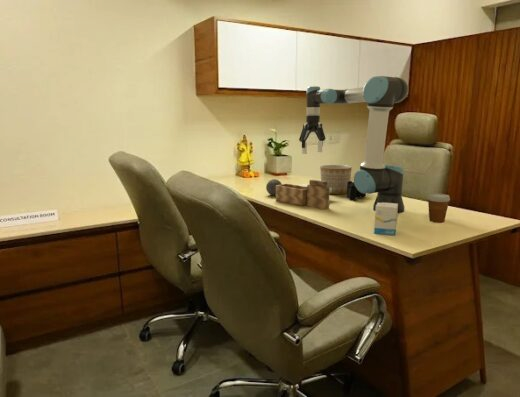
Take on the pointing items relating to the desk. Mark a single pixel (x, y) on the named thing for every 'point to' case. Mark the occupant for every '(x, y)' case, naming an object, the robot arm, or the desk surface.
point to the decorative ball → (272, 186)
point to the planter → (336, 177)
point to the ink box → (385, 218)
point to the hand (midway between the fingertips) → (312, 153)
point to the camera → (353, 191)
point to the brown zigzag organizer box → (303, 195)
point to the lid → (308, 184)
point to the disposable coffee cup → (438, 207)
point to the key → (318, 183)
